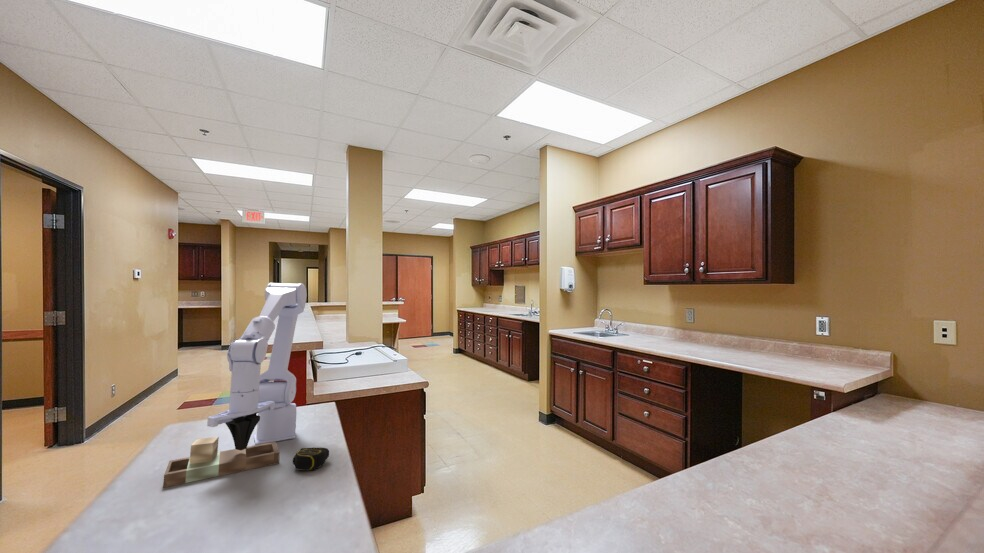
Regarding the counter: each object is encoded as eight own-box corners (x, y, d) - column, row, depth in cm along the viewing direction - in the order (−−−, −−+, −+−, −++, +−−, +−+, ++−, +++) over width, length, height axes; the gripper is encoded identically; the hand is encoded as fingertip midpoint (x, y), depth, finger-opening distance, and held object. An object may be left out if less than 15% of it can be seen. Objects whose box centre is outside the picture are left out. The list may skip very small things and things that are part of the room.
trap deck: (275, 451, 92) (275, 441, 92) (278, 463, 86) (279, 452, 86) (168, 472, 80) (169, 460, 80) (163, 487, 74) (164, 475, 74)
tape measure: (330, 461, 88) (330, 445, 88) (318, 474, 81) (319, 456, 81) (301, 461, 87) (302, 445, 88) (287, 474, 81) (288, 457, 81)
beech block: (217, 454, 84) (218, 436, 85) (211, 461, 81) (213, 442, 81) (196, 456, 83) (197, 438, 83) (189, 464, 79) (190, 445, 79)
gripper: (262, 382, 94) (258, 435, 93) (200, 395, 81) (195, 457, 80) (281, 385, 92) (278, 440, 91) (221, 398, 78) (216, 463, 77)
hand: (240, 448), depth 85 cm, fingers closed
